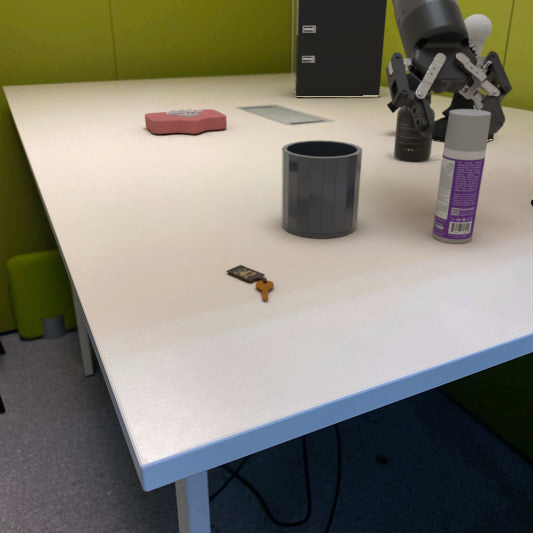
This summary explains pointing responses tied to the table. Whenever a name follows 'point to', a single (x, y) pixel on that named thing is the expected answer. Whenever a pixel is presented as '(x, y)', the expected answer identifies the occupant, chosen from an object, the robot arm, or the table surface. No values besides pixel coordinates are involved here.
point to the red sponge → (185, 121)
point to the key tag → (253, 278)
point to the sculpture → (478, 33)
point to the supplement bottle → (411, 137)
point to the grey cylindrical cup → (320, 188)
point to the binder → (339, 47)
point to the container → (461, 175)
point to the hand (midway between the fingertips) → (463, 131)
